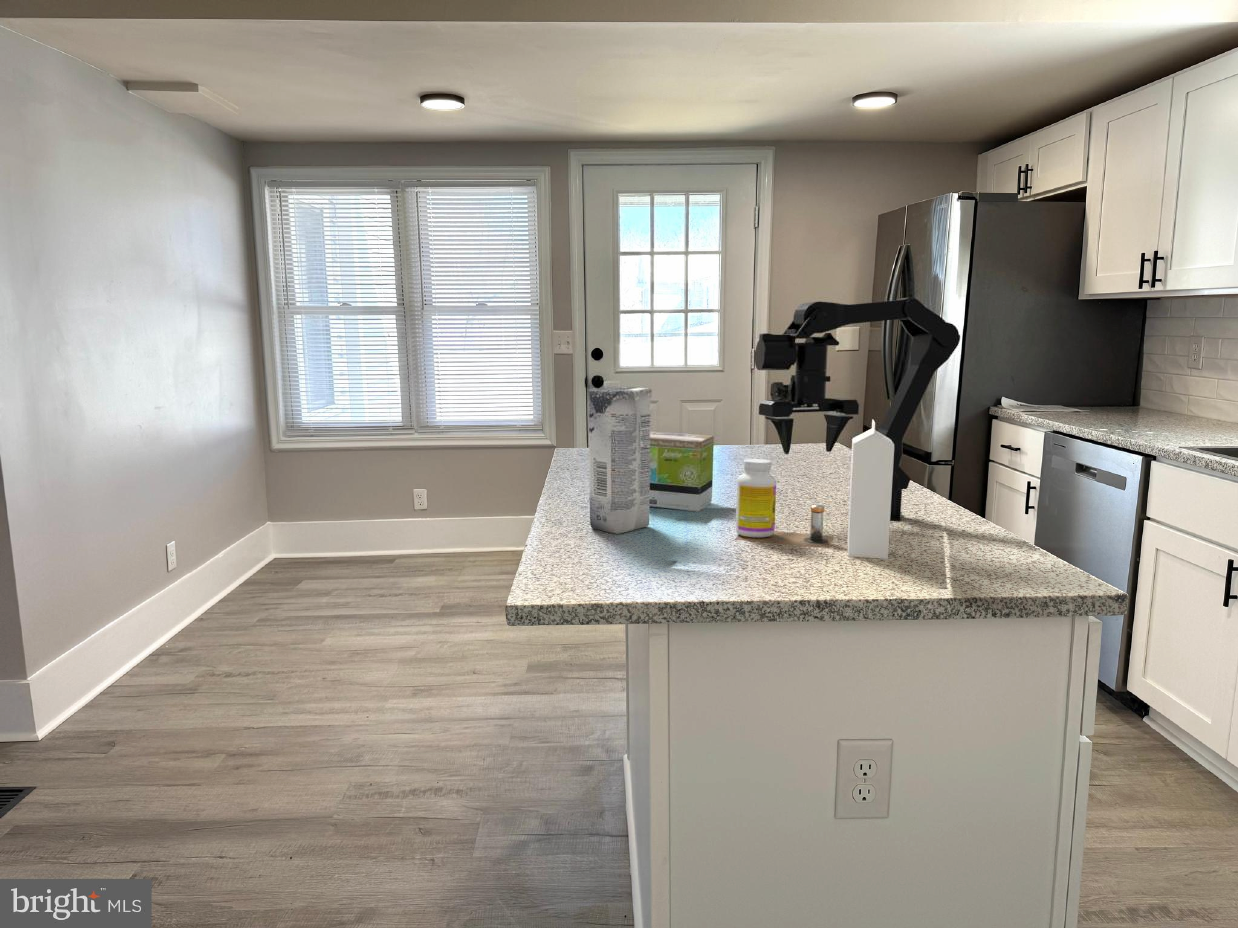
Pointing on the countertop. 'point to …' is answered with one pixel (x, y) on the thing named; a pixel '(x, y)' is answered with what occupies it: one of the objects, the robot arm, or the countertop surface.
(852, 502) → the milk
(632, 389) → the juice carton
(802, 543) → the plate
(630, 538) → the countertop surface
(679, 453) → the tea box
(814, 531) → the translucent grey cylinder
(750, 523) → the supplement bottle
